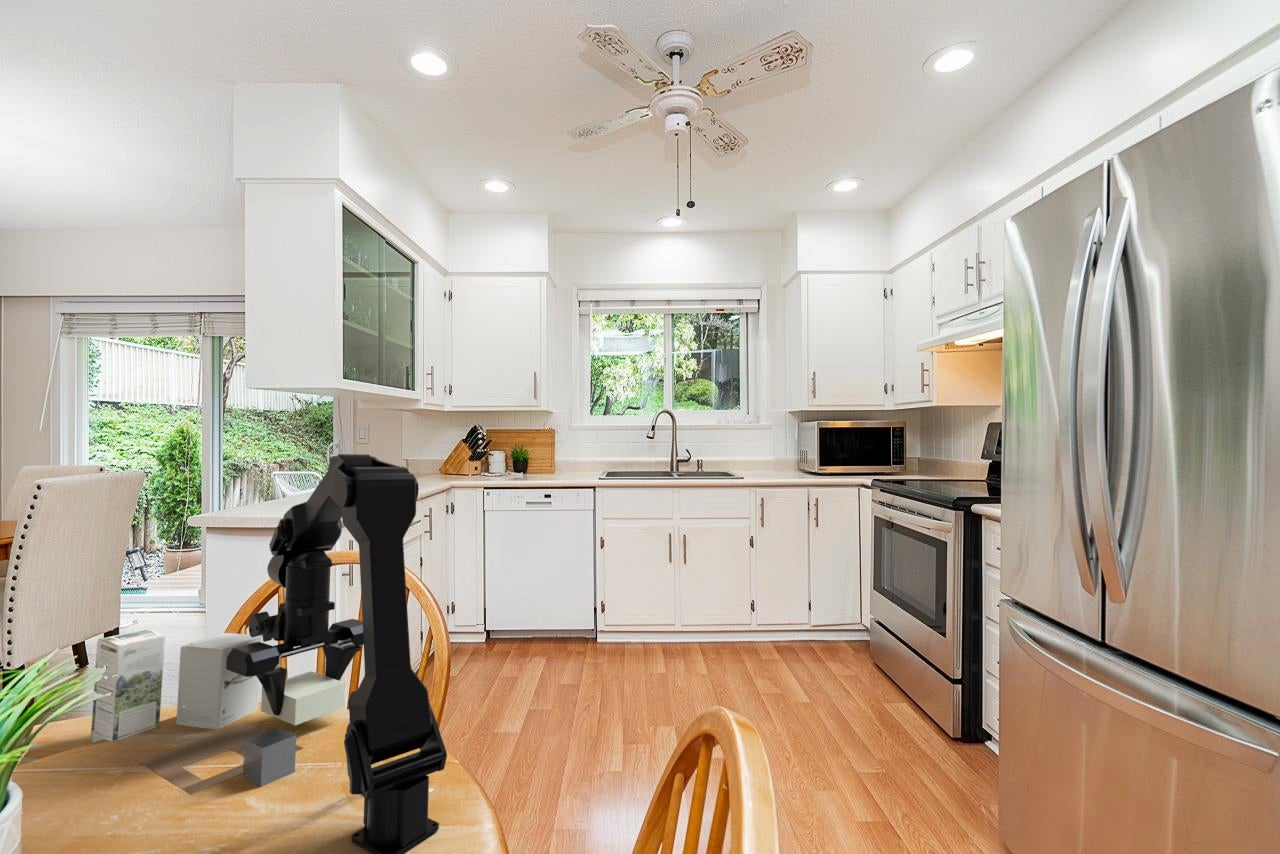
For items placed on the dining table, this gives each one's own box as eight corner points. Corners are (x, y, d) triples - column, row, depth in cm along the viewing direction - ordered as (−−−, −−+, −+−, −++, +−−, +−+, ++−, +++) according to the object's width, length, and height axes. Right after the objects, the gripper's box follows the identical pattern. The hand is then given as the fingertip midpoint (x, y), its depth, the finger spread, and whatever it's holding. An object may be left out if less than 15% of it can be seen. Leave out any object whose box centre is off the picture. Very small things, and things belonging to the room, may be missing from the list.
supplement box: (217, 740, 86) (221, 649, 86) (173, 735, 87) (178, 645, 88) (259, 718, 93) (263, 634, 93) (219, 713, 94) (222, 631, 95)
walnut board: (302, 759, 81) (303, 747, 81) (190, 807, 70) (191, 794, 70) (247, 733, 88) (247, 723, 88) (137, 773, 77) (137, 761, 77)
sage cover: (344, 706, 89) (345, 682, 89) (294, 725, 83) (295, 699, 83) (310, 694, 93) (311, 671, 93) (261, 711, 87) (262, 686, 87)
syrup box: (138, 727, 89) (143, 627, 90) (160, 736, 87) (165, 633, 87) (89, 744, 84) (95, 637, 85) (111, 753, 81) (117, 644, 82)
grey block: (294, 784, 75) (296, 734, 75) (260, 800, 71) (262, 748, 72) (276, 775, 77) (278, 727, 77) (242, 790, 73) (244, 739, 74)
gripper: (334, 578, 101) (331, 674, 100) (208, 601, 85) (203, 715, 84) (377, 587, 95) (374, 689, 94) (251, 612, 79) (245, 735, 78)
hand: (303, 705), depth 88 cm, fingers closed on sage cover, 7 cm apart
